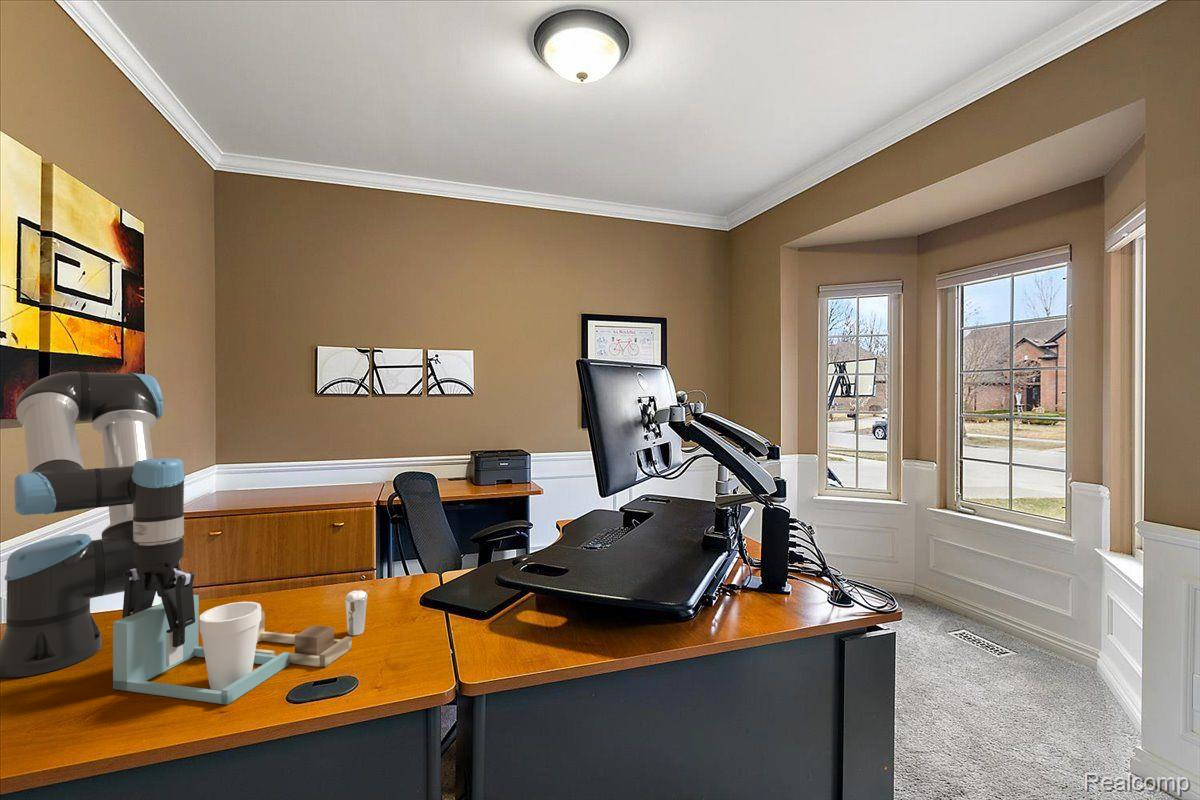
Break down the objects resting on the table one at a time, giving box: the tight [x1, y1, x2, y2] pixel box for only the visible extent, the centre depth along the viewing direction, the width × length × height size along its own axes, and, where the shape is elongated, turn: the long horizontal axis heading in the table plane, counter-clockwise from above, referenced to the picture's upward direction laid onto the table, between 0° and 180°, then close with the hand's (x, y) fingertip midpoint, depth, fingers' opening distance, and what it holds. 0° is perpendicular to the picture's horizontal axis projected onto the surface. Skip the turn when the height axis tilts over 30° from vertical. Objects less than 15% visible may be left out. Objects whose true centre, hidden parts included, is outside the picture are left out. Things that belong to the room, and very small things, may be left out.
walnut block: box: [294, 624, 335, 656], centre depth 109 cm, size 5×5×5 cm
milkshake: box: [344, 588, 370, 637], centre depth 119 cm, size 4×5×10 cm
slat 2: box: [287, 635, 353, 668], centre depth 109 cm, size 10×8×2 cm
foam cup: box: [199, 601, 262, 691], centre depth 99 cm, size 10×9×13 cm
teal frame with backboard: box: [112, 594, 290, 705], centre depth 100 cm, size 24×14×12 cm, turn 79°
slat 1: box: [255, 610, 296, 655], centre depth 111 cm, size 12×8×6 cm, turn 79°
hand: (158, 660), depth 102 cm, fingers open, 7 cm apart
